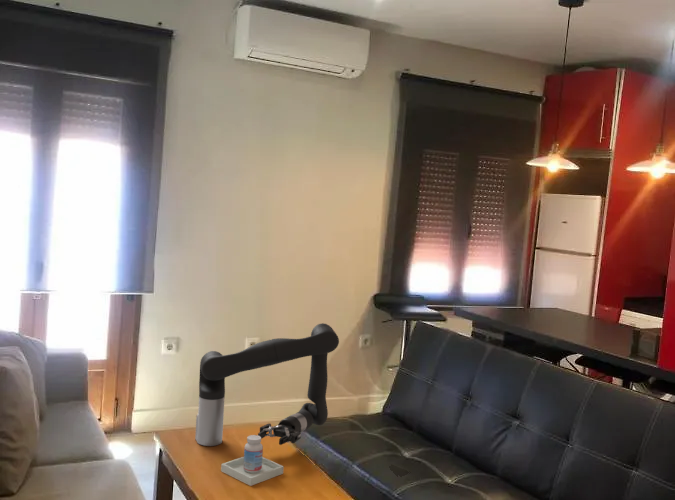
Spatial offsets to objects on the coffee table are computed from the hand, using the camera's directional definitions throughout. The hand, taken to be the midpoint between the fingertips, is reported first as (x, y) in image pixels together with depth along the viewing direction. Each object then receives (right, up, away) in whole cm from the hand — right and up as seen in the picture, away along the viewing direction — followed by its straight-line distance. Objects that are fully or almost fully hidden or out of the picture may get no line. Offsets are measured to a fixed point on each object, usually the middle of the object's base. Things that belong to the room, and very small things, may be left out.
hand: (269, 439), depth 241 cm
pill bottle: (-5, -8, -8) cm, 13 cm away
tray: (-5, -9, -8) cm, 13 cm away
